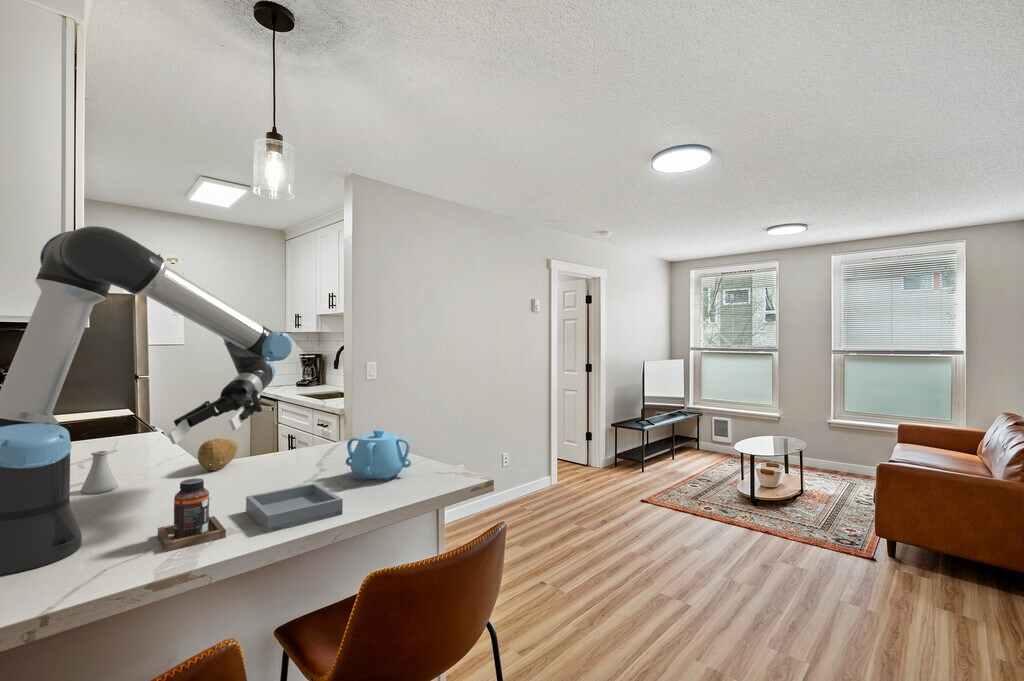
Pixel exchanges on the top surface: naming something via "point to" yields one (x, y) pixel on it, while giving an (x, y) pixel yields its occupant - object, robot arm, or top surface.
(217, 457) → the potato
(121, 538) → the top surface
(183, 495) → the supplement bottle
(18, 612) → the top surface
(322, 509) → the tray
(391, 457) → the decorative pot
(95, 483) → the flask
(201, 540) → the rectangular wooden frame
